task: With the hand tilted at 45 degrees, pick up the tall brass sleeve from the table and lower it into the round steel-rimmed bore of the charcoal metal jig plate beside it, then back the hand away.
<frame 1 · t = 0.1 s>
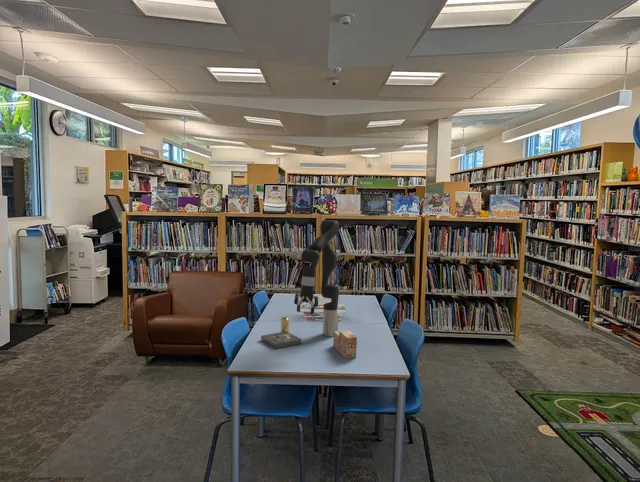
hand: (305, 313, 234), 22 cm above the table, tool pointing down, fingers open, 8 cm apart
jig plate: (281, 342, 250), on the table
brass sleeve: (284, 333, 268), on the table
stack of blocks: (344, 352, 237), on the table
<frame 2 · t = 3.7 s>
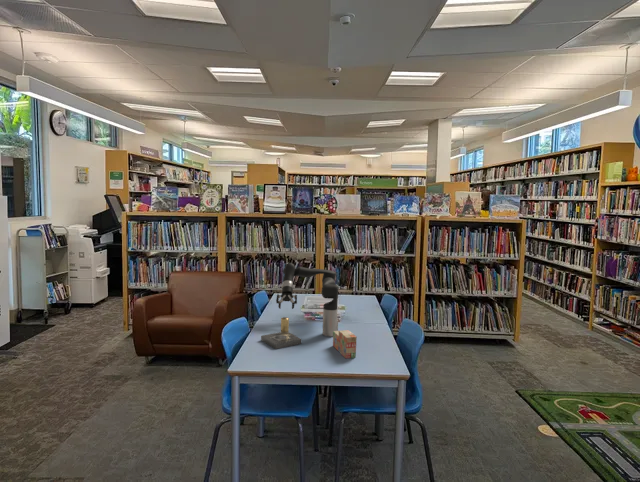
hand: (286, 308, 278), 14 cm above the table, tool tilted 45°, fingers open, 8 cm apart
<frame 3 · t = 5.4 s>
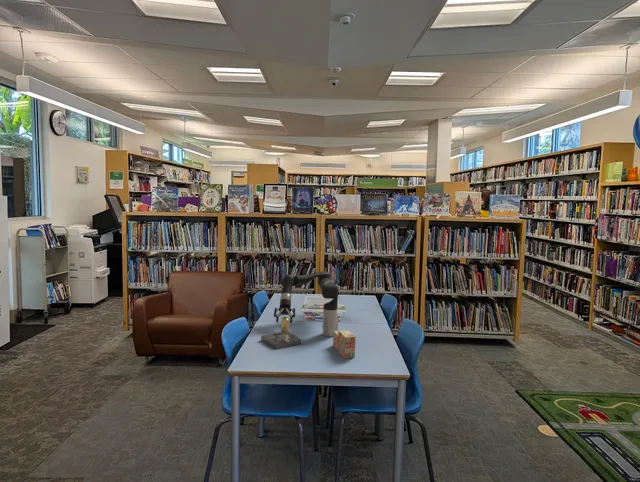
hand: (283, 322, 270), 7 cm above the table, tool tilted 45°, fingers open, 8 cm apart
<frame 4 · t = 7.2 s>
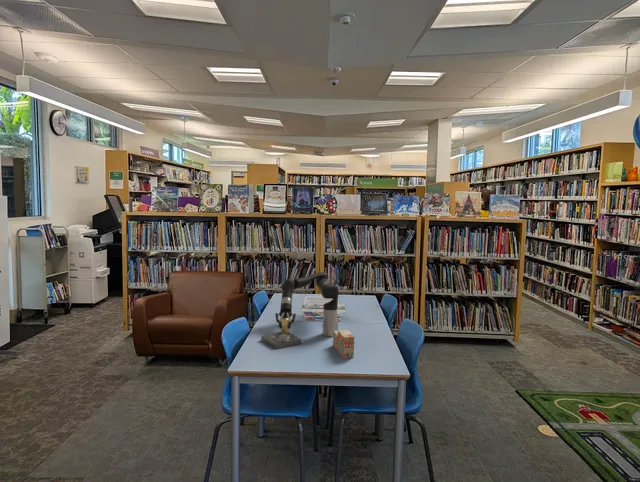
hand: (284, 327, 266), 4 cm above the table, tool tilted 45°, fingers closed on brass sleeve, 5 cm apart
brass sleeve: (284, 333, 268), on the table, touching gripper
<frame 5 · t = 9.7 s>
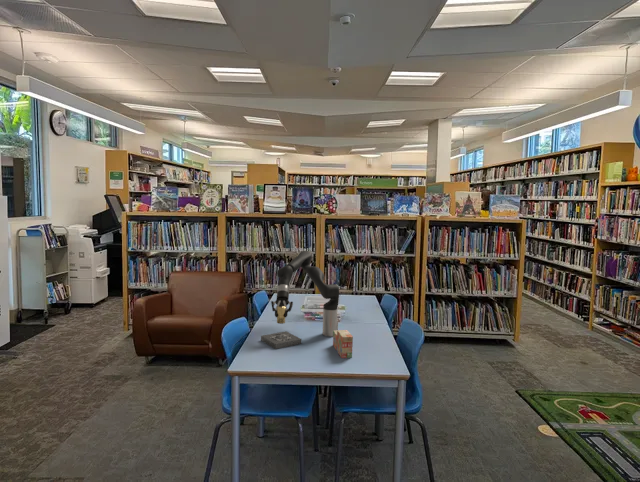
hand: (280, 316, 249), 16 cm above the table, tool tilted 45°, fingers closed on brass sleeve, 5 cm apart
brass sleeve: (281, 322, 251), point 12 cm above the table, touching gripper
when the fingers open (6 cm above the table, at t = 12.2 s): brass sleeve drops 2 cm, resting in jig plate.
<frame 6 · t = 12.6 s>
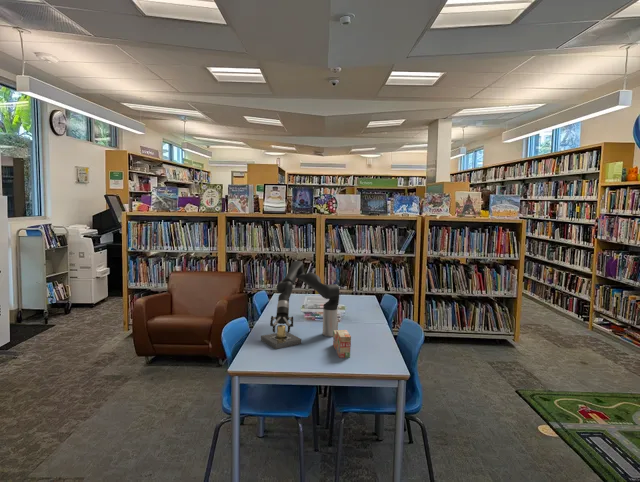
hand: (281, 332, 248), 7 cm above the table, tool tilted 45°, fingers open, 8 cm apart
brass sleeve: (281, 342, 250), resting in jig plate
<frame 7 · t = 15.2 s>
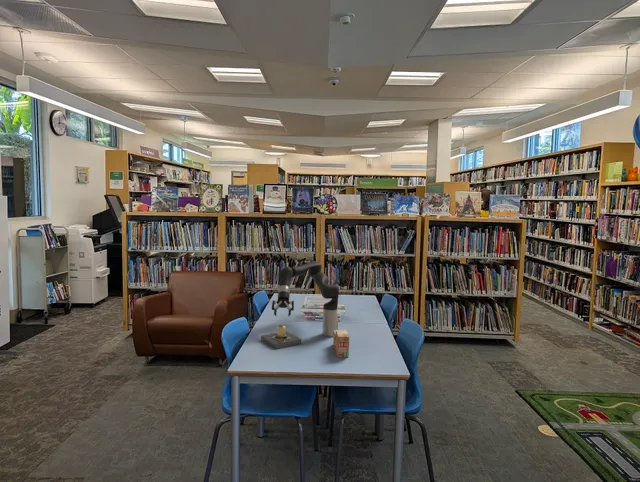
hand: (282, 315, 260), 14 cm above the table, tool tilted 45°, fingers open, 8 cm apart
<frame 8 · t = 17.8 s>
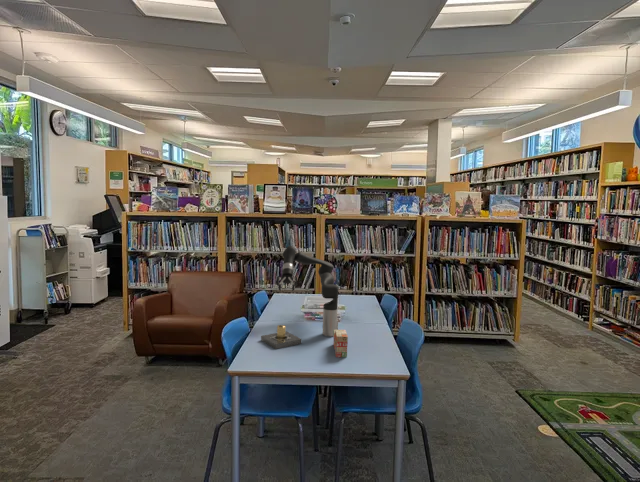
hand: (286, 290, 275), 27 cm above the table, tool tilted 45°, fingers open, 8 cm apart
at the end: brass sleeve 0.1 cm off-centre on the jig plate, point 0.0 cm above the jig plate's base; brass sleeve tilted 0°; the gripper is holding nothing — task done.
